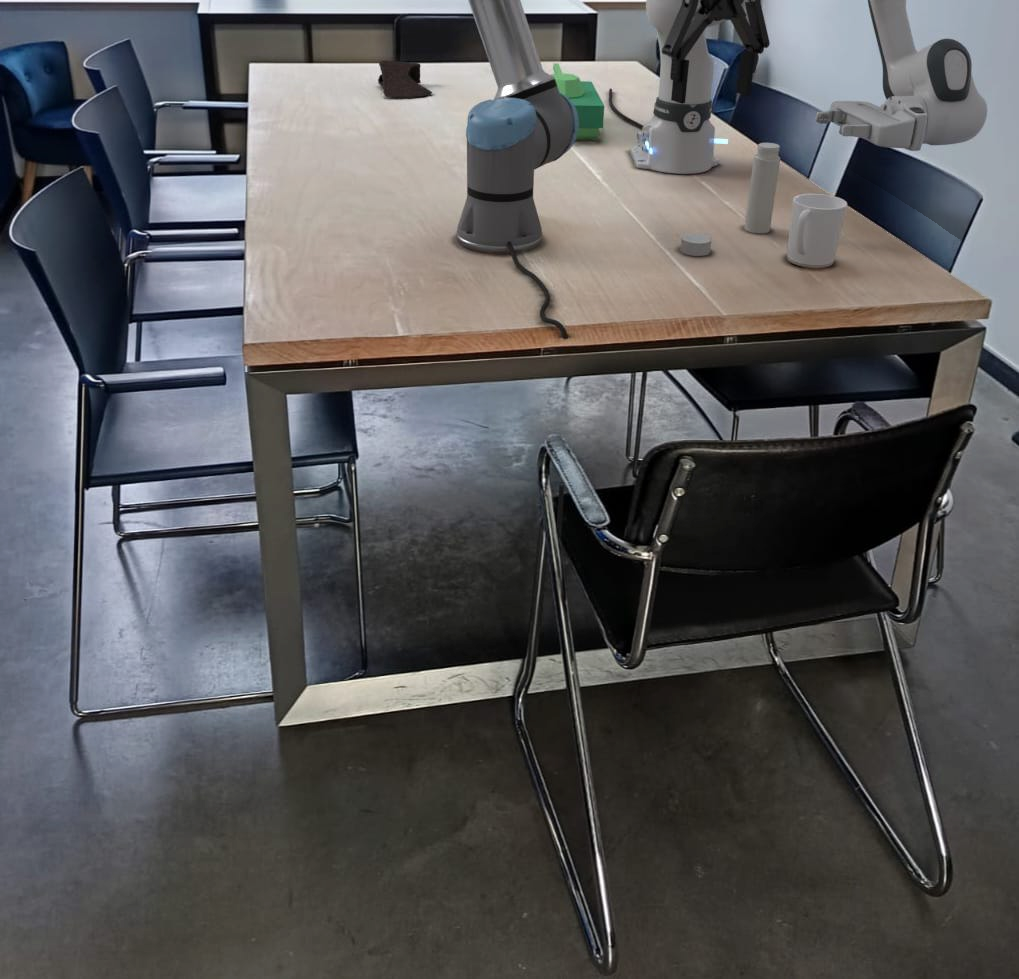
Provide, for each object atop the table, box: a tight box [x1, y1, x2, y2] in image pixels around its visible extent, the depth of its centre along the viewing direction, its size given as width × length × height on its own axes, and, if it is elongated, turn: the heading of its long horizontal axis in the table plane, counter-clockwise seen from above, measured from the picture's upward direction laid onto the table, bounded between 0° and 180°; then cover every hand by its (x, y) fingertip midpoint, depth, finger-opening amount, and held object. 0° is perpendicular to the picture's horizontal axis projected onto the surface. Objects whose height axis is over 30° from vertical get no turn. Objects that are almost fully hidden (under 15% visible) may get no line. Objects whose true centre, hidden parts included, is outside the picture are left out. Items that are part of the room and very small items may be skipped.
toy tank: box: [550, 63, 605, 141], centre depth 267 cm, size 18×12×35 cm
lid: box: [679, 233, 712, 257], centre depth 192 cm, size 5×5×2 cm
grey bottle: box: [744, 142, 781, 234], centre depth 200 cm, size 5×5×16 cm
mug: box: [786, 193, 848, 269], centre depth 186 cm, size 11×9×10 cm
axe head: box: [377, 59, 433, 99], centre depth 299 cm, size 18×8×15 cm
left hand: (711, 98), depth 180 cm, fingers open, 13 cm apart
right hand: (829, 123), depth 196 cm, fingers open, 8 cm apart
